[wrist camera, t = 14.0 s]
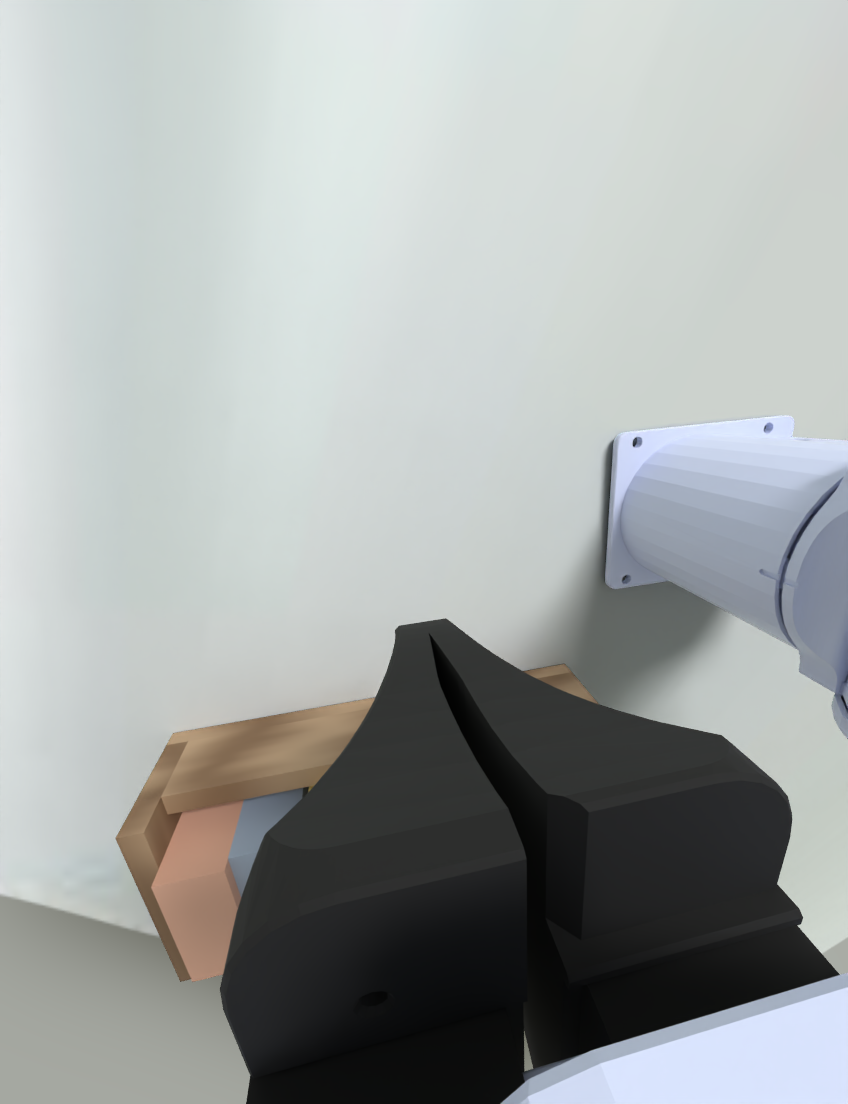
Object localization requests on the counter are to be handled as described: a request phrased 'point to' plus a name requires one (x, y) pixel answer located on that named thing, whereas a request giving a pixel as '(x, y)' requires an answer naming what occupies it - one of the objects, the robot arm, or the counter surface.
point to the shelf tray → (245, 776)
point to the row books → (213, 874)
